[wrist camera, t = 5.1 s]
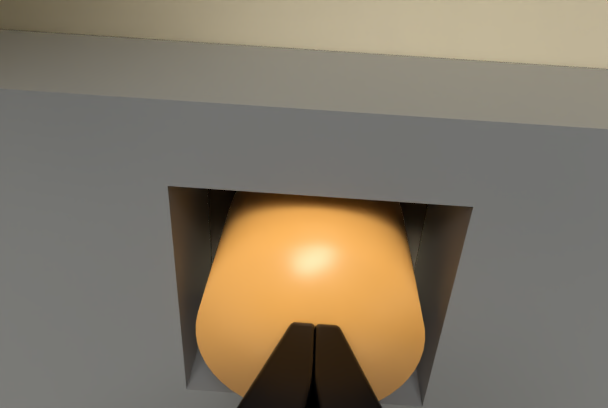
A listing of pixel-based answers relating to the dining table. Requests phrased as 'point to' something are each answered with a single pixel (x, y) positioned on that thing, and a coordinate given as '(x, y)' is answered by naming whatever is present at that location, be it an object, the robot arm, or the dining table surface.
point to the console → (297, 181)
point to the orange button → (311, 285)
